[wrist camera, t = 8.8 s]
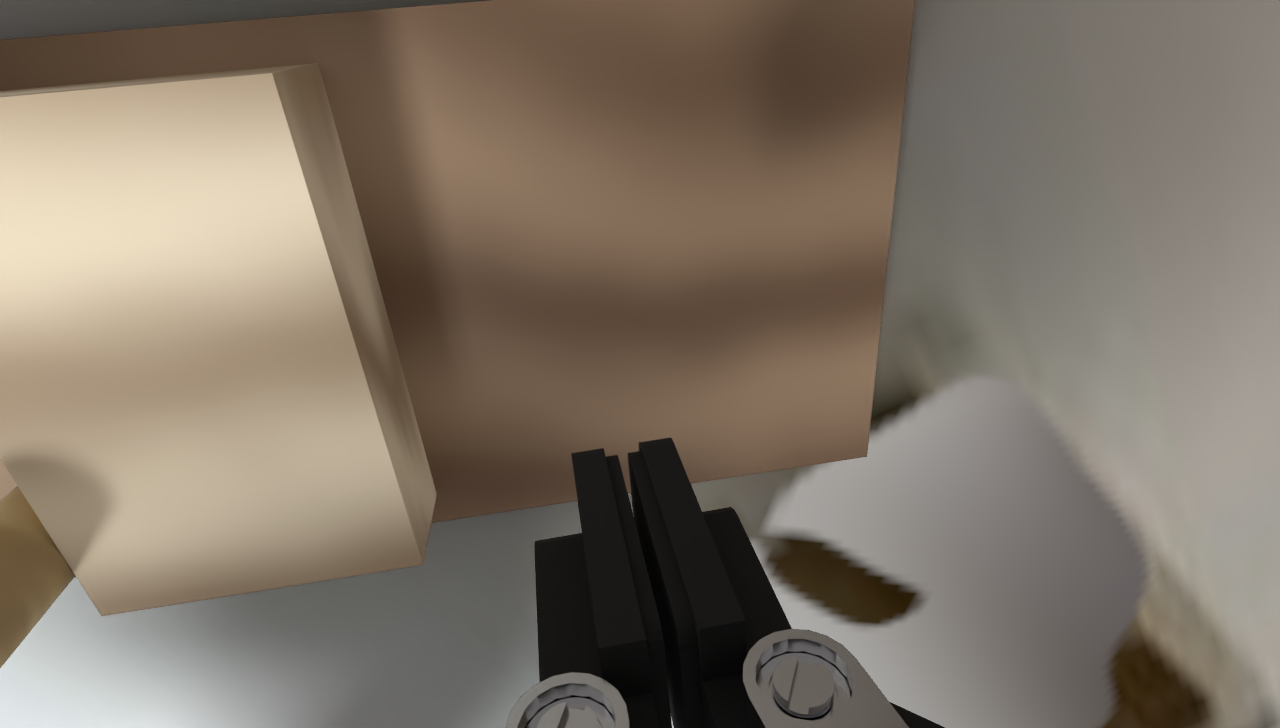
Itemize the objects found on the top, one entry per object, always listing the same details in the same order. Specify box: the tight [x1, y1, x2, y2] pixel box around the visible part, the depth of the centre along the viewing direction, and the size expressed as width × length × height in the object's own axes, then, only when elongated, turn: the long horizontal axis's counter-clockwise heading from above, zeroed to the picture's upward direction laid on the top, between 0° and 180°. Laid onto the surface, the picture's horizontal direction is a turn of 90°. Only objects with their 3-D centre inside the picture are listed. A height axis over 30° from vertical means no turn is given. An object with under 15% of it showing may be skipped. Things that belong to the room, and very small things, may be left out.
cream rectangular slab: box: [0, 63, 437, 616], centre depth 16 cm, size 12×8×3 cm, turn 5°
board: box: [0, 0, 915, 668], centre depth 15 cm, size 14×26×7 cm, turn 95°
